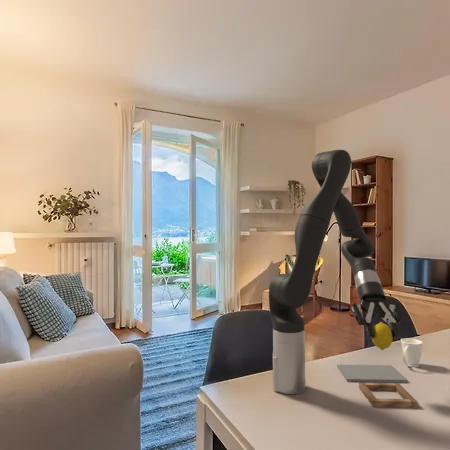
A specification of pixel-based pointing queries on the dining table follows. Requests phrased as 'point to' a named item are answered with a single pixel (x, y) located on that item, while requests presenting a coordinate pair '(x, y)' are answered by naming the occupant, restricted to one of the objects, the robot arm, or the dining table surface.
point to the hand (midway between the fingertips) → (384, 337)
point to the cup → (411, 351)
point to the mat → (371, 373)
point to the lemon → (382, 336)
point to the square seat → (379, 402)
